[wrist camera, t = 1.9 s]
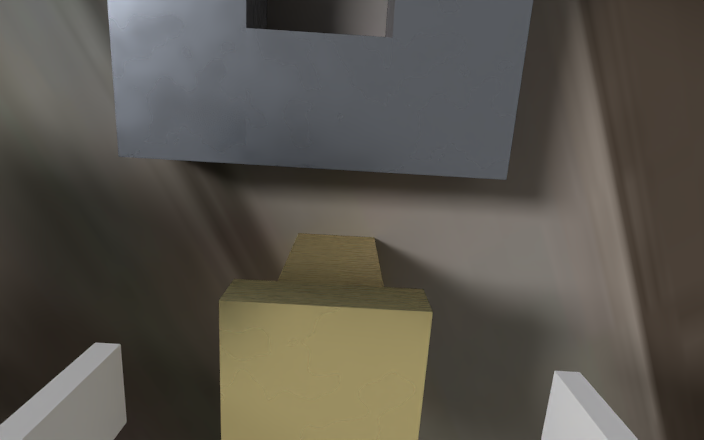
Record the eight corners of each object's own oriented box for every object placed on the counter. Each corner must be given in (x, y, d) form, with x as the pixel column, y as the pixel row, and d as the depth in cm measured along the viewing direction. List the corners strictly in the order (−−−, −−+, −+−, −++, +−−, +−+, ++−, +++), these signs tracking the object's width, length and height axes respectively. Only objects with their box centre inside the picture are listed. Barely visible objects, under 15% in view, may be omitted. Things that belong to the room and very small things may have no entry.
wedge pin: (277, 318, 24) (222, 477, 13) (279, 213, 22) (218, 300, 12) (385, 324, 24) (412, 486, 13) (394, 220, 22) (432, 311, 12)
